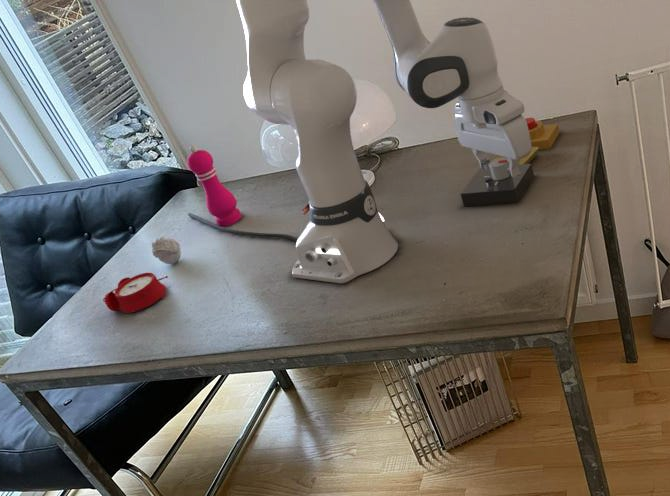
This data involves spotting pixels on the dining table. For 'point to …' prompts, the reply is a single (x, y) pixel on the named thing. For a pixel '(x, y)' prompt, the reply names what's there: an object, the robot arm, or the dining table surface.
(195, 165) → the pepper mill
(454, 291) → the dining table surface
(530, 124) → the stop button
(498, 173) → the knob
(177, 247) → the white lumpy rounded piece
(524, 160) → the yellow square tray
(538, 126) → the yellow button base
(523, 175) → the panel
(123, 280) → the alarm clock
